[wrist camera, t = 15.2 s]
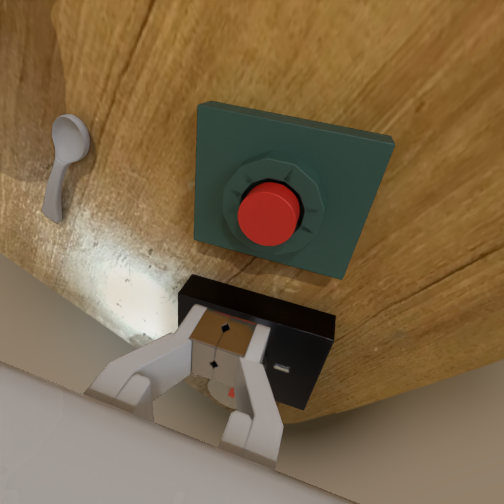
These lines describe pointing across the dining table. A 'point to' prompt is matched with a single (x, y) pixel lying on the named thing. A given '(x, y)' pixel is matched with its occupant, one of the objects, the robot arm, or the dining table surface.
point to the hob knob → (226, 390)
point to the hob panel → (272, 333)
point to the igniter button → (269, 214)
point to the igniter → (287, 182)
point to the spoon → (64, 160)
